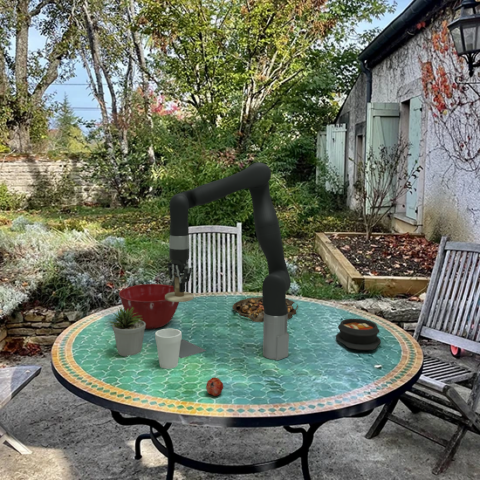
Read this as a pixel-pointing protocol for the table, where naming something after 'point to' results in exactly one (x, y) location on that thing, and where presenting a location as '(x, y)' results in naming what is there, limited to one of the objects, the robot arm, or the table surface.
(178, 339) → the foam cup
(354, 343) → the casserole
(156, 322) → the mixing bowl
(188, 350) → the mat
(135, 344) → the potted plant
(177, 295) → the lid
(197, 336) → the table surface
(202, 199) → the robot arm
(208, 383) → the pomegranate
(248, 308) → the food dish
